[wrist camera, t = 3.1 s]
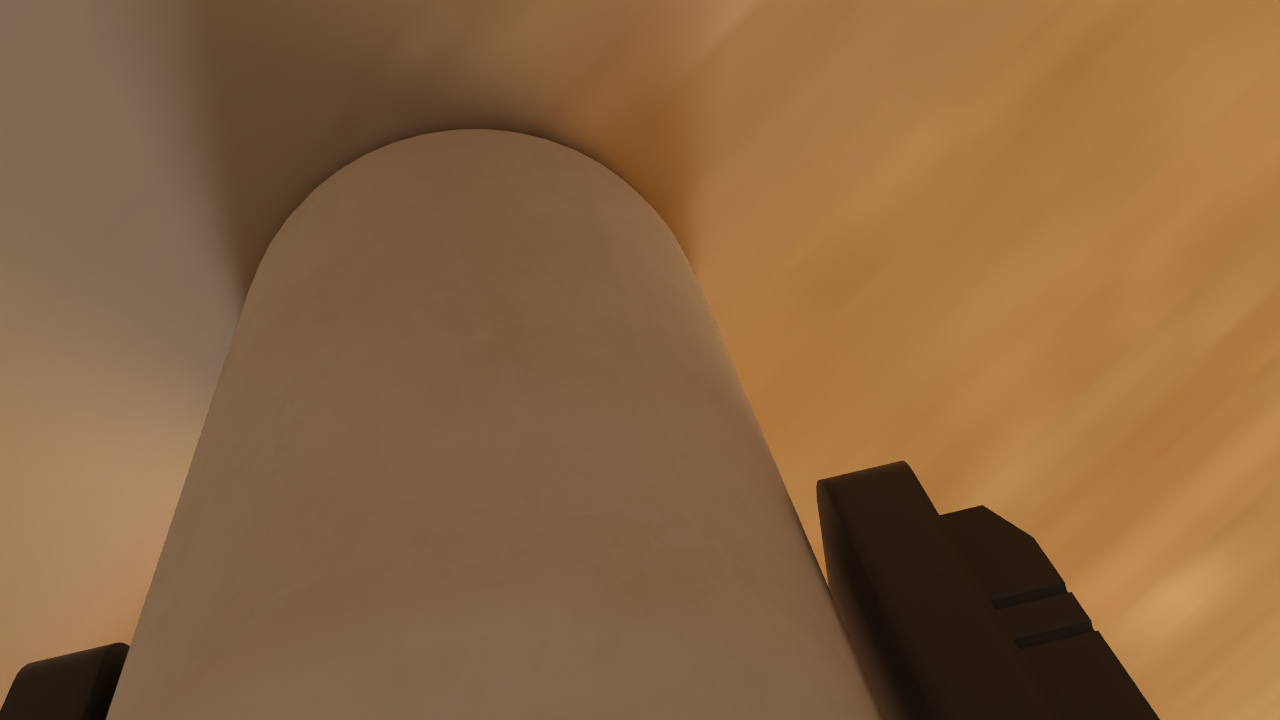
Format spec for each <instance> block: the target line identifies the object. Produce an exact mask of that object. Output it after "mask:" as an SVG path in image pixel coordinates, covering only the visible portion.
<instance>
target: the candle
mask: <svg viewBox="0 0 1280 720" xmlns="http://www.w3.org/2000/svg"><path fill="white" fill-rule="evenodd" d="M106 720H885V719H884V717H883V715H882V712H881V710H880V708H879V705H878V703H877V701H876V698H875V696H874V694H873V691H872V689H871V686H870V684H869V682H868V679H867V677H866V675H865V672H864V670H863V668H862V665H861V663H860V661H859V658H858V656H857V654H856V651H855V649H854V646H853V644H852V642H851V639H850V637H849V635H848V632H847V630H846V628H845V625H844V623H843V621H842V618H841V616H840V614H839V611H838V609H837V607H836V604H835V602H834V600H833V597H832V595H831V593H830V590H829V588H828V585H827V583H826V581H825V578H824V576H823V574H822V571H821V569H820V567H819V564H818V562H817V560H816V557H815V555H814V553H813V550H812V548H811V546H810V543H809V541H808V539H807V536H806V534H805V532H804V529H803V527H802V524H801V522H800V520H799V517H798V515H797V513H796V510H795V508H794V506H793V503H792V501H791V499H790V496H789V494H788V492H787V489H786V487H785V485H784V482H783V480H782V478H781V475H780V473H779V471H778V468H777V466H776V463H775V461H774V459H773V456H772V454H771V452H770V449H769V447H768V445H767V442H766V440H765V438H764V435H763V433H762V431H761V428H760V426H759V424H758V421H757V419H756V417H755V414H754V412H753V409H752V407H751V405H750V402H749V400H748V398H747V395H746V393H745V391H744V388H743V386H742V384H741V381H740V379H739V377H738V374H737V372H736V370H735V367H734V365H733V363H732V360H731V358H730V356H729V353H728V351H727V348H726V346H725V344H724V341H723V339H722V337H721V334H720V332H719V330H718V327H717V325H716V323H715V320H714V318H713V316H712V313H711V311H710V309H709V306H708V304H707V302H706V299H705V297H704V295H703V292H702V290H701V287H700V285H699V283H698V281H697V278H696V276H695V274H694V272H693V270H692V268H691V266H690V264H689V262H688V260H687V258H686V256H685V254H684V252H683V250H682V248H681V247H680V245H679V243H678V242H677V240H676V238H675V236H674V235H673V233H672V231H671V230H670V228H669V227H668V226H667V225H666V223H665V222H664V221H663V219H662V218H661V217H660V216H659V214H658V213H657V212H656V211H655V209H654V208H653V207H652V206H651V205H650V204H649V203H648V202H647V201H646V200H645V199H644V198H643V197H641V196H640V195H639V194H638V193H637V192H636V191H635V190H634V189H633V188H632V187H631V186H630V185H629V184H628V183H627V182H626V181H624V180H623V179H622V178H620V177H619V176H618V175H616V174H615V173H613V172H612V171H611V170H609V169H608V168H606V167H605V166H604V165H602V164H601V163H599V162H597V161H595V160H593V159H591V158H589V157H587V156H586V155H584V154H582V153H580V152H578V151H576V150H574V149H571V148H569V147H566V146H563V145H561V144H558V143H555V142H553V141H550V140H547V139H543V138H539V137H535V136H531V135H526V134H522V133H518V132H510V131H501V130H491V129H457V130H448V131H441V132H434V133H428V134H422V135H418V136H415V137H411V138H408V139H404V140H401V141H397V142H393V143H391V144H389V145H386V146H384V147H382V148H379V149H377V150H375V151H372V152H370V153H367V154H365V155H363V156H362V157H360V158H358V159H357V160H355V161H353V162H352V163H350V164H348V165H346V166H345V167H343V168H341V169H340V170H338V171H337V172H336V173H334V174H333V175H332V176H331V177H329V178H328V179H327V180H326V181H324V182H323V183H322V184H321V185H319V186H318V187H317V188H315V189H314V191H313V192H312V193H311V194H310V195H309V196H308V197H307V198H306V199H305V200H304V201H303V202H302V203H301V204H300V205H299V206H298V207H297V208H296V209H295V211H294V212H293V213H292V214H291V215H290V216H289V217H288V218H287V220H286V221H285V223H284V224H283V225H282V227H281V228H280V230H279V231H278V232H277V234H276V235H275V237H274V238H273V240H272V241H271V243H270V245H269V247H268V249H267V251H266V253H265V255H264V257H263V259H262V261H261V263H260V265H259V266H258V269H257V271H256V274H255V277H254V279H253V282H252V284H251V287H250V289H249V292H248V294H247V297H246V300H245V303H244V306H243V309H242V312H241V315H240V318H239V321H238V324H237V327H236V330H235V333H234V336H233V339H232V342H231V345H230V348H229V351H228V354H227V357H226V360H225V363H224V366H223V369H222V372H221V375H220V378H219V381H218V384H217V387H216V390H215V393H214V396H213V399H212V402H211V405H210V408H209V411H208V414H207V417H206V420H205V423H204V426H203V429H202V432H201V435H200V438H199V441H198V444H197V447H196V450H195V453H194V456H193V459H192V462H191V465H190V468H189V471H188V474H187V477H186V480H185V483H184V486H183V489H182V492H181V495H180V498H179V501H178V504H177V507H176V510H175V513H174V516H173V519H172V522H171V525H170V528H169V531H168V534H167V537H166V540H165V543H164V546H163V549H162V552H161V555H160V558H159V561H158V564H157V567H156V570H155V573H154V576H153V579H152V582H151V585H150V588H149V591H148V594H147V597H146V600H145V603H144V606H143V609H142V612H141V615H140V618H139V621H138V624H137V627H136V630H135V633H134V636H133V639H132V642H131V645H130V648H129V651H128V654H127V657H126V660H125V663H124V666H123V669H122V672H121V675H120V678H119V681H118V684H117V687H116V690H115V693H114V696H113V699H112V702H111V705H110V708H109V711H108V714H107V717H106Z"/></svg>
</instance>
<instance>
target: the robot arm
mask: <svg viewBox="0 0 1280 720" xmlns="http://www.w3.org/2000/svg"><path fill="white" fill-rule="evenodd" d="M817 503H818V510H819V518H820V525H821V532H822V540H823V547H824V555H825V562H826V569H827V577H828V584H829V590H830V593H831V595H832V597H833V600H834V602H835V604H836V607H837V609H838V611H839V614H840V616H841V618H842V621H843V623H844V625H845V628H846V630H847V632H848V635H849V637H850V639H851V642H852V644H853V646H854V649H855V651H856V654H857V656H858V658H859V661H860V663H861V665H862V668H863V670H864V672H865V675H866V677H867V679H868V682H869V684H870V686H871V689H872V691H873V694H874V696H875V698H876V701H877V703H878V705H879V708H880V710H881V712H882V715H883V717H884V719H885V720H1160V719H1159V718H1158V716H1157V715H1156V713H1155V712H1154V710H1153V709H1152V708H1151V706H1150V705H1149V703H1148V702H1147V700H1146V699H1145V698H1144V696H1143V695H1142V693H1141V692H1140V690H1139V689H1138V687H1137V686H1136V685H1135V683H1134V682H1133V680H1132V679H1131V677H1130V676H1129V674H1128V673H1127V672H1126V670H1125V669H1124V667H1123V666H1122V664H1121V663H1120V661H1119V660H1118V659H1117V657H1116V656H1115V654H1114V653H1113V651H1112V650H1111V648H1110V647H1109V646H1108V644H1107V643H1106V641H1105V640H1104V638H1103V637H1102V636H1101V634H1100V633H1099V631H1094V629H1093V627H1092V623H1091V620H1090V618H1089V617H1088V615H1087V614H1086V612H1085V611H1084V610H1083V608H1082V607H1081V605H1080V604H1079V602H1078V601H1077V599H1076V598H1075V597H1074V595H1073V594H1072V592H1069V593H1068V592H1067V589H1066V586H1065V582H1064V581H1063V579H1062V578H1061V576H1060V575H1059V574H1058V572H1057V571H1056V569H1055V568H1054V566H1053V565H1052V563H1051V562H1050V561H1049V559H1048V558H1047V556H1046V555H1045V553H1044V552H1043V550H1042V549H1041V548H1040V546H1039V545H1038V543H1037V542H1036V540H1035V539H1034V538H1033V537H1032V536H1030V535H1028V534H1027V533H1025V532H1024V531H1022V530H1021V529H1019V528H1017V527H1016V526H1014V525H1013V524H1011V523H1010V522H1008V521H1006V520H1005V519H1003V518H1002V517H1000V516H999V515H997V514H995V513H994V512H992V511H991V510H989V509H988V508H986V507H984V506H983V505H981V506H977V507H973V508H969V509H965V510H960V511H956V512H952V513H948V514H943V515H939V514H938V512H937V511H936V509H935V507H934V506H933V504H932V502H931V501H930V499H929V497H928V496H927V494H926V492H925V491H924V489H923V487H922V486H921V484H920V482H919V481H918V479H917V477H916V476H915V474H914V472H913V471H912V469H911V468H910V466H909V465H908V464H907V463H906V462H904V461H899V462H895V463H890V464H886V465H882V466H878V467H873V468H869V469H865V470H860V471H856V472H852V473H848V474H843V475H839V476H835V477H831V478H826V479H822V480H818V482H817ZM129 648H130V646H128V645H127V644H124V643H119V642H118V643H114V644H110V645H105V646H101V647H97V648H93V649H88V650H84V651H80V652H75V653H71V654H67V655H63V656H58V657H54V658H50V659H46V660H41V661H37V662H33V663H30V664H27V665H26V666H24V667H23V668H22V669H21V670H20V671H19V672H18V674H17V675H16V677H15V679H14V681H13V683H12V686H11V688H10V690H9V692H8V695H7V697H6V699H5V702H4V704H3V706H2V708H1V711H0V720H106V717H107V714H108V711H109V708H110V705H111V702H112V699H113V696H114V693H115V690H116V687H117V684H118V681H119V678H120V675H121V672H122V669H123V666H124V663H125V660H126V657H127V654H128V651H129Z"/></svg>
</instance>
